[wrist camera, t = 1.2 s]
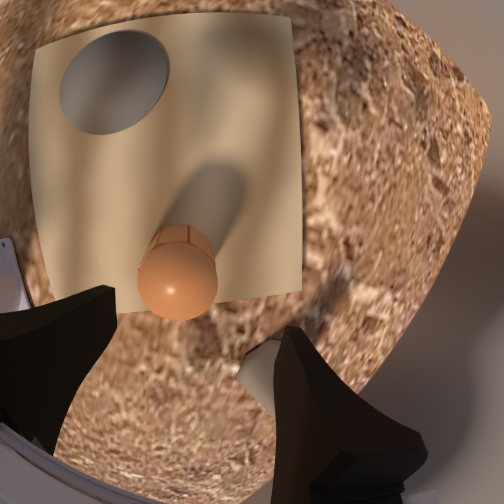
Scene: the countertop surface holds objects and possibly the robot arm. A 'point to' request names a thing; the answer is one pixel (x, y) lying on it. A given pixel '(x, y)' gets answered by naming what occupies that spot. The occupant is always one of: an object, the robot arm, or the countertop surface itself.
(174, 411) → the countertop surface
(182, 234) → the orange domed tapered piece
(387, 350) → the countertop surface
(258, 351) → the flask
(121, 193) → the board
